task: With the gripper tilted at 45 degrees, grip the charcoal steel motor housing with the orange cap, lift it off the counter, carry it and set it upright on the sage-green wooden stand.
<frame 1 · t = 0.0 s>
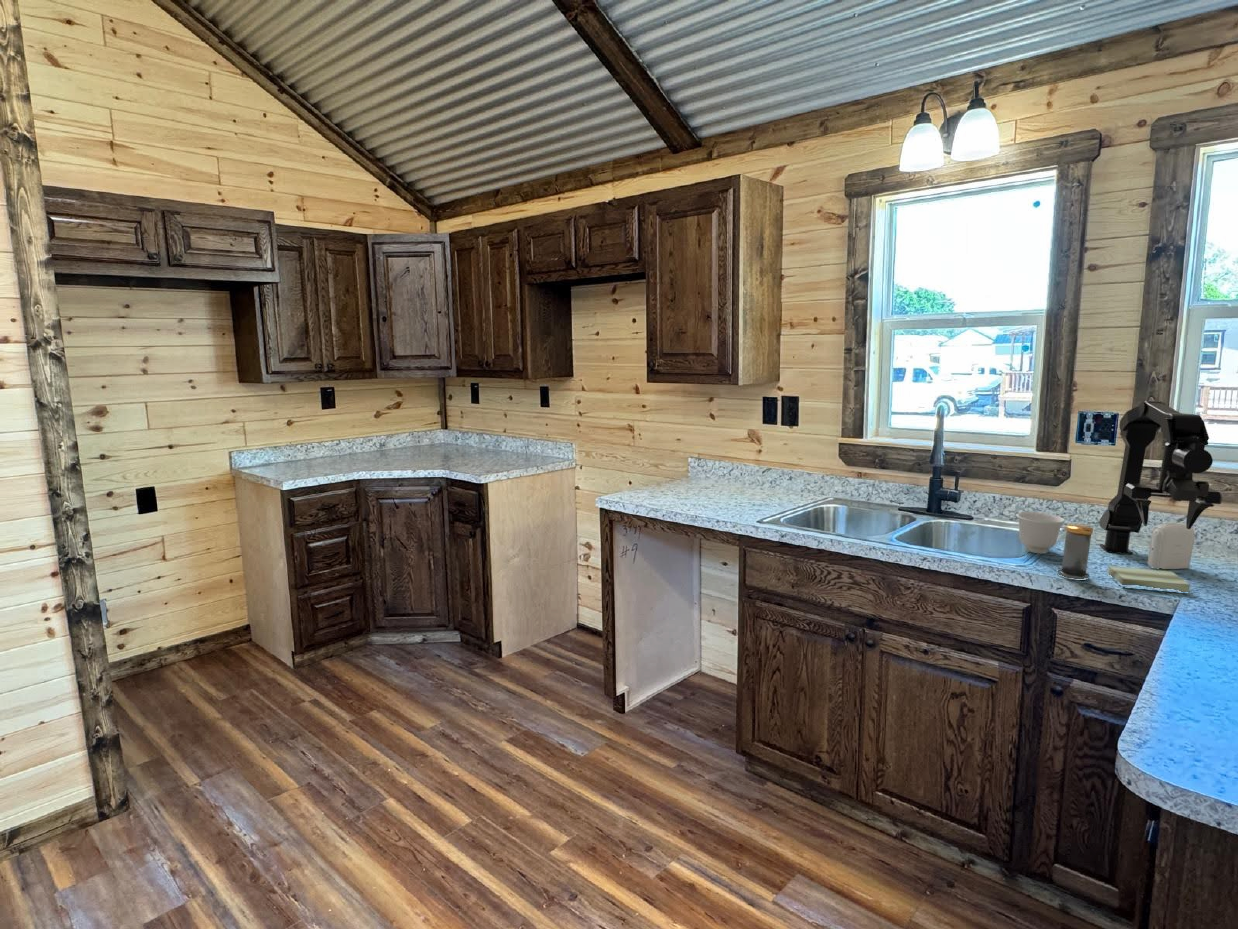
hand: (1166, 527, 179), 15 cm above the worktop, tool pointing down, fingers open, 9 cm apart
housing: (1072, 576, 187), on the worktop
photo printer: (1167, 568, 195), on the worktop
teacup: (1036, 550, 209), on the worktop
stand: (1146, 584, 181), on the worktop
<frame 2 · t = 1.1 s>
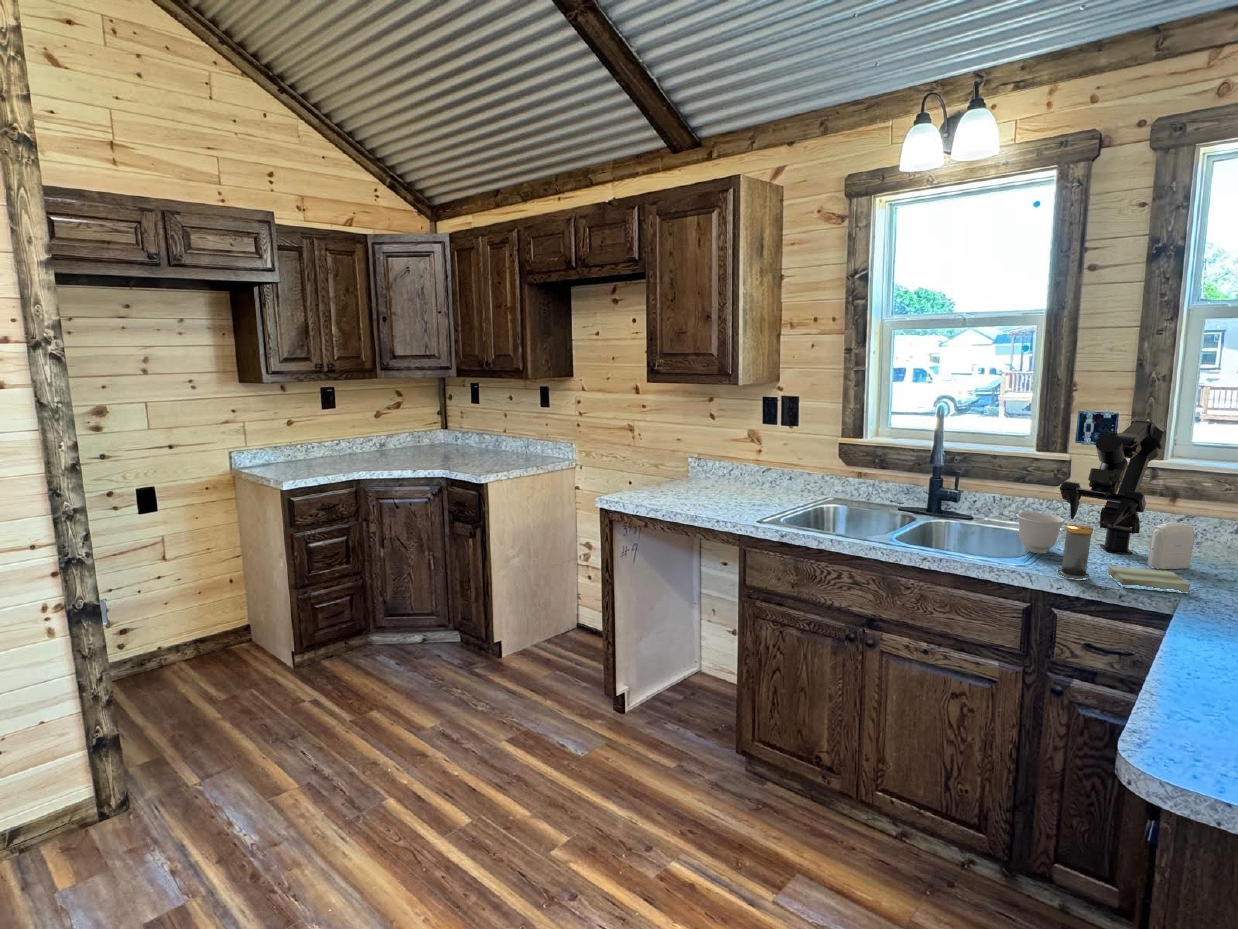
hand: (1091, 522, 189), 13 cm above the worktop, tool tilted 45°, fingers open, 9 cm apart
nothing on the worktop moved.
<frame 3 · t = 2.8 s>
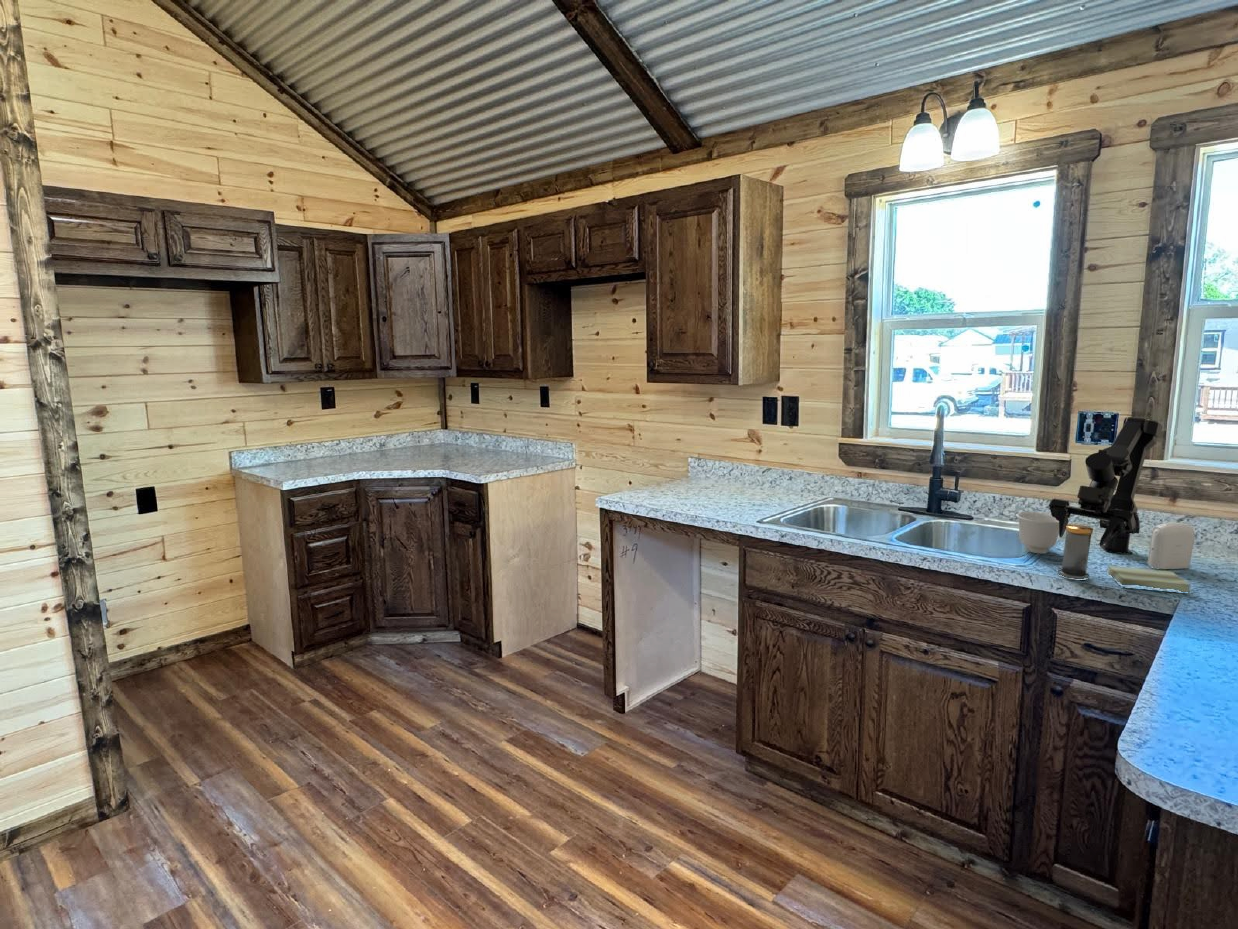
hand: (1079, 540, 186), 9 cm above the worktop, tool tilted 45°, fingers open, 9 cm apart
nothing on the worktop moved.
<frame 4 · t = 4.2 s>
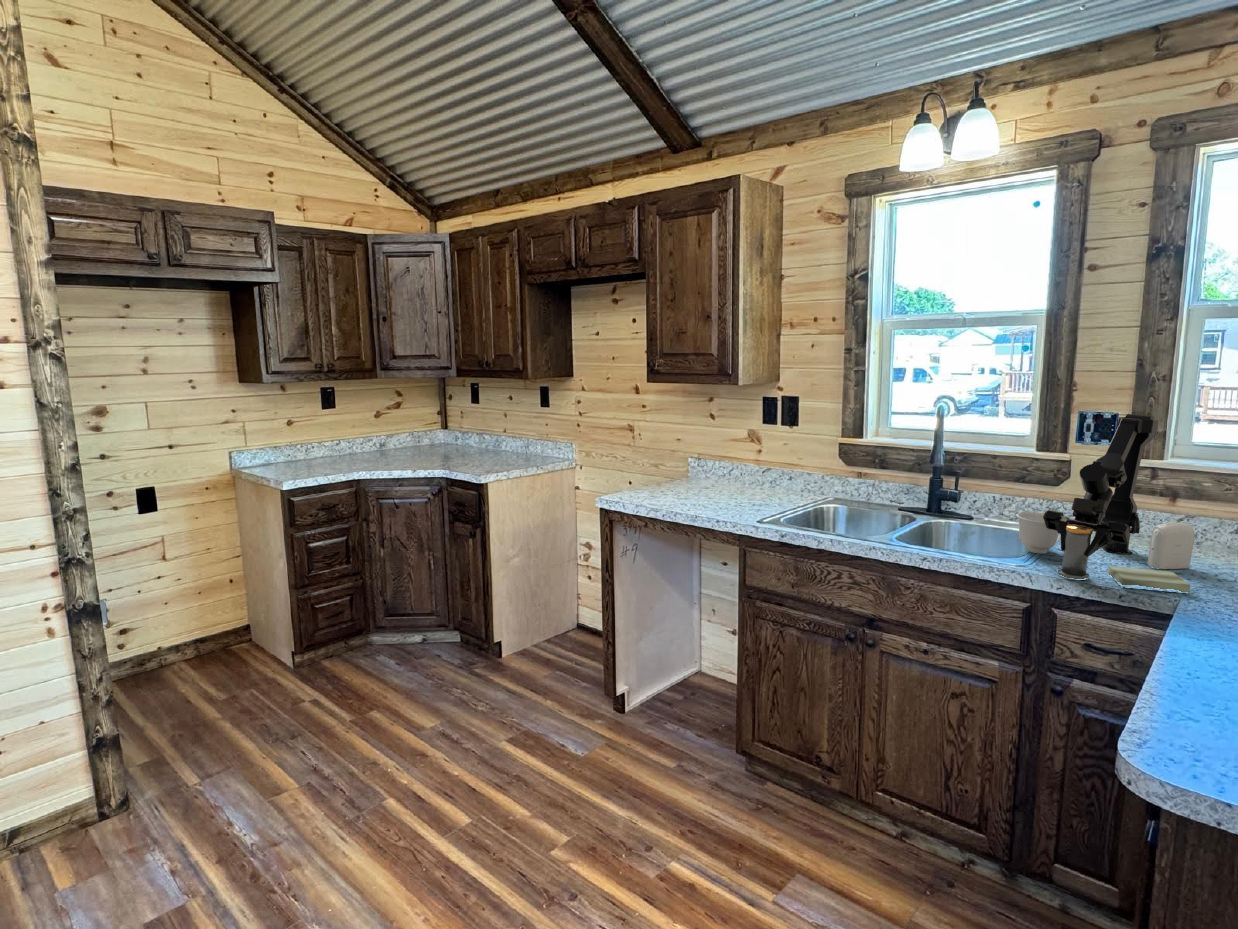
hand: (1074, 553, 185), 7 cm above the worktop, tool tilted 45°, fingers closed on housing, 5 cm apart
housing: (1072, 576, 187), on the worktop, touching gripper
everything else where it was.
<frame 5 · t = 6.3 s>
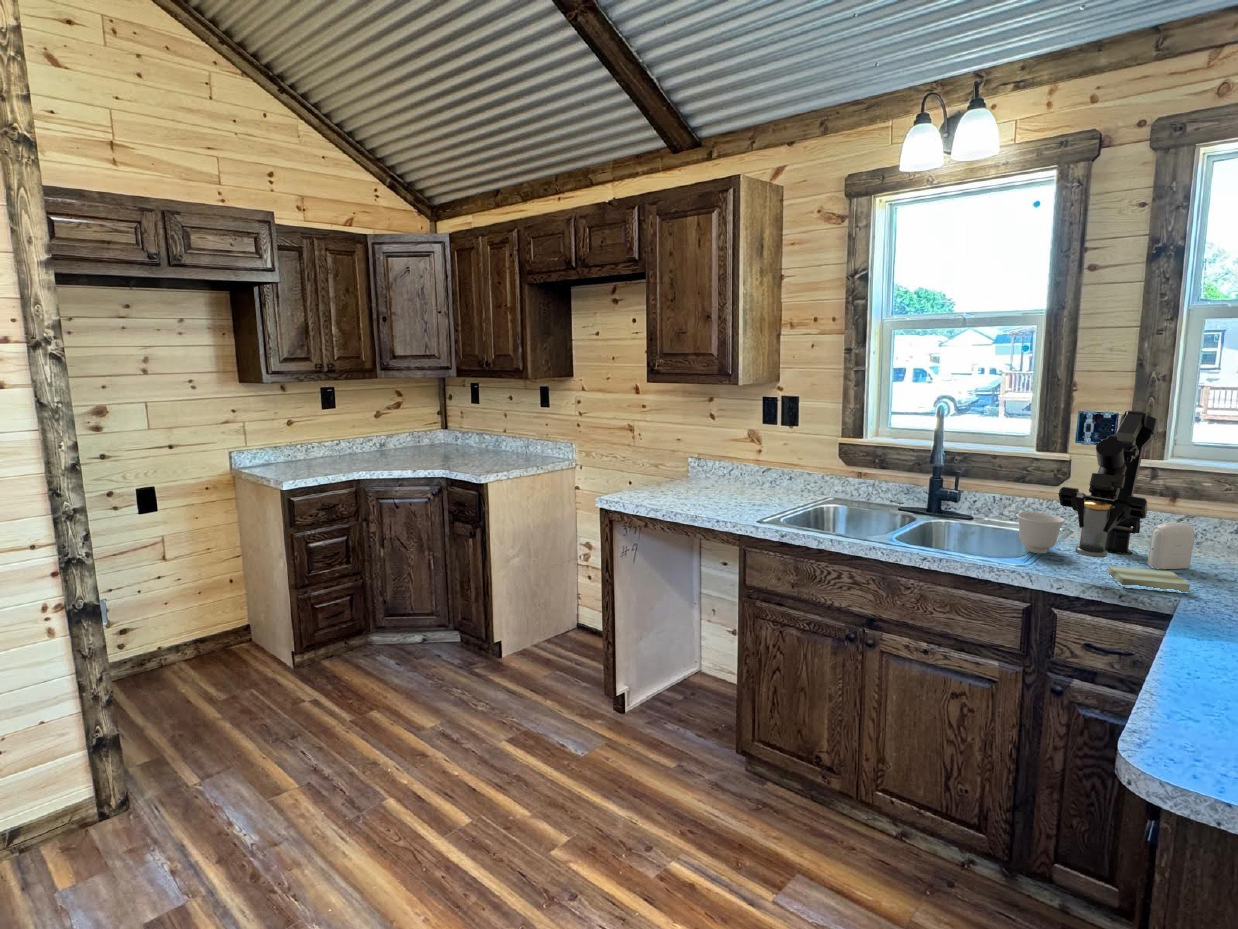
hand: (1093, 529, 182), 13 cm above the worktop, tool tilted 45°, fingers closed on housing, 5 cm apart
housing: (1091, 553, 184), point 7 cm above the worktop, touching gripper
everything else where it was.
when the fingers open (10 cm above the worktop, at t = 8.3 s): housing drops 1 cm, resting on stand.
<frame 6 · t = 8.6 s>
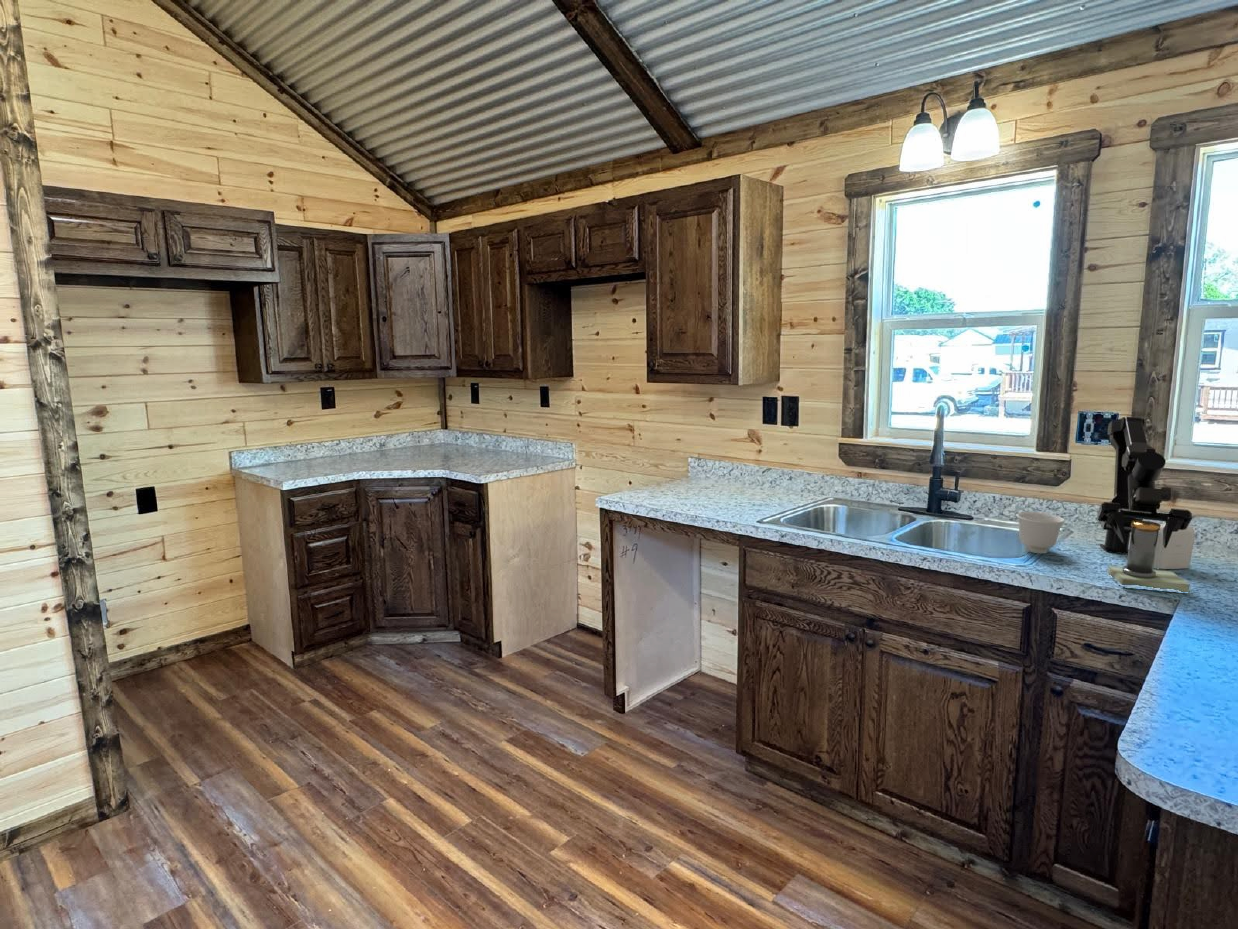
hand: (1144, 544, 179), 11 cm above the worktop, tool tilted 45°, fingers open, 8 cm apart
housing: (1138, 573, 182), point 3 cm above the worktop, touching stand
everything else where it was.
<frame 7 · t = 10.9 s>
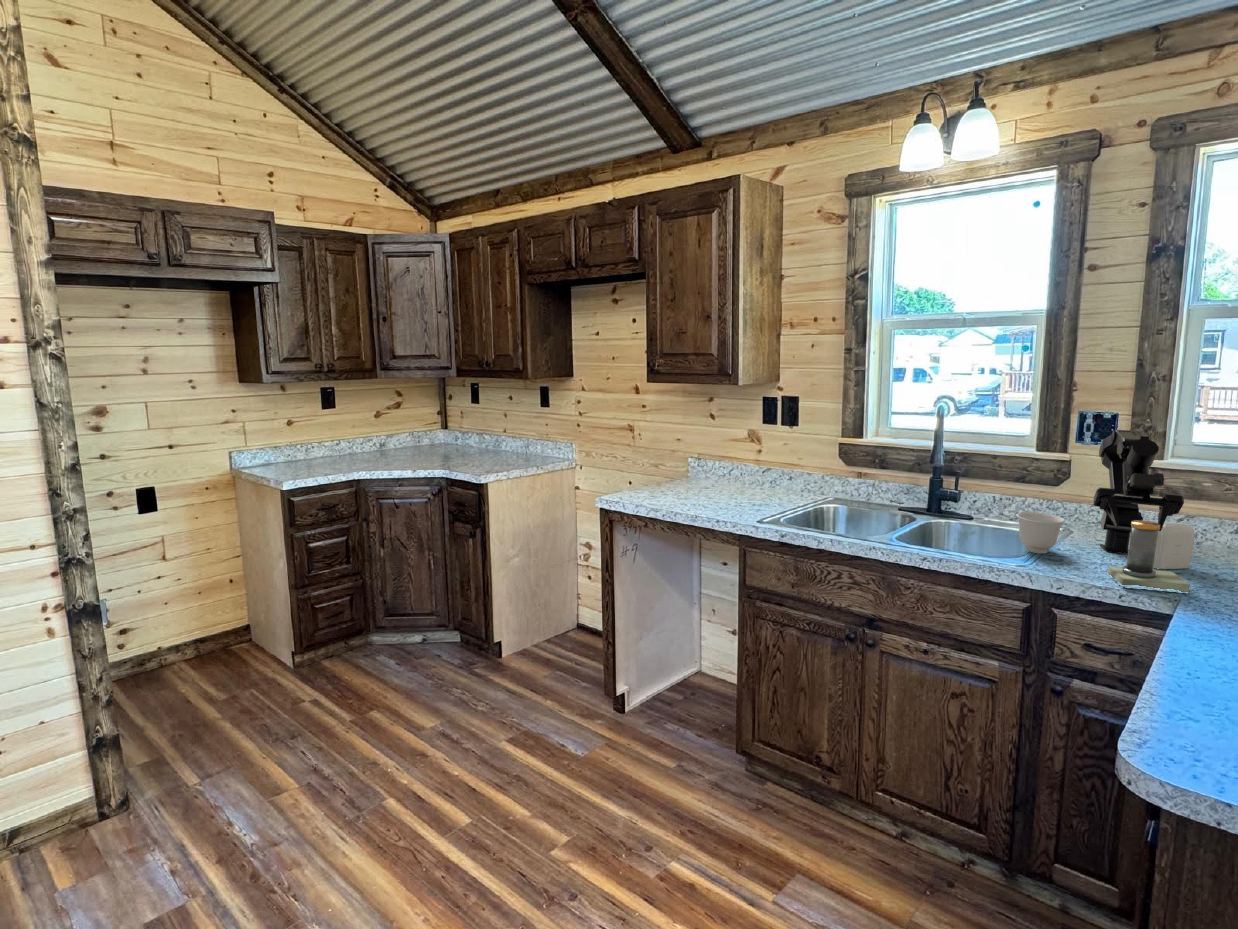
hand: (1138, 528, 186), 13 cm above the worktop, tool tilted 45°, fingers open, 9 cm apart
nothing on the worktop moved.
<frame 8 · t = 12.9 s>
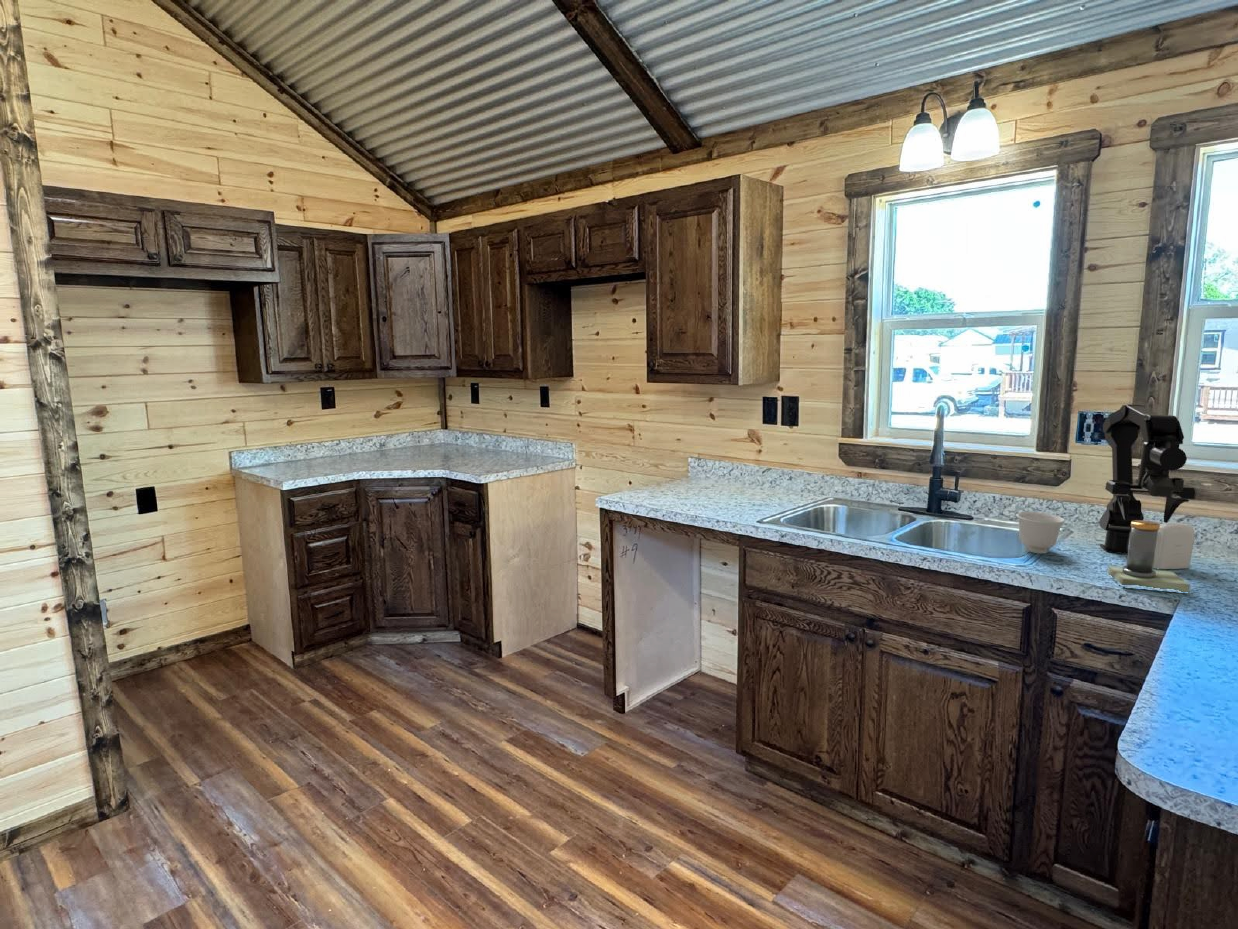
hand: (1145, 521, 191), 13 cm above the worktop, tool pointing down, fingers open, 9 cm apart
nothing on the worktop moved.
at the end: housing inside the target area on the stand (0.1 cm from its centre), point 2.6 cm above the stand's base; housing tilted 1°; the gripper is holding nothing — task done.
